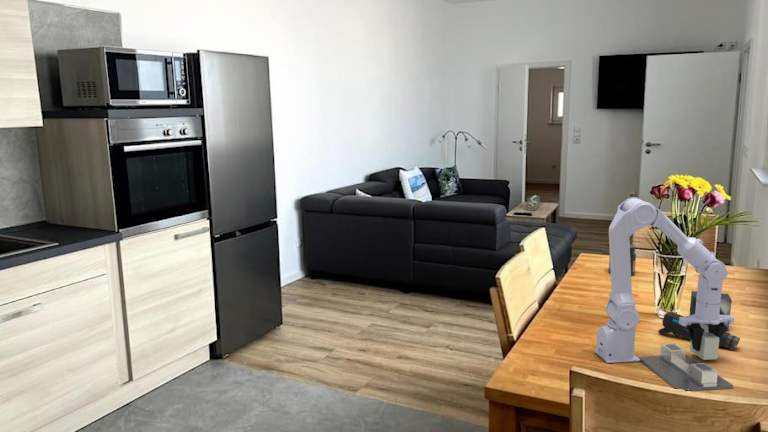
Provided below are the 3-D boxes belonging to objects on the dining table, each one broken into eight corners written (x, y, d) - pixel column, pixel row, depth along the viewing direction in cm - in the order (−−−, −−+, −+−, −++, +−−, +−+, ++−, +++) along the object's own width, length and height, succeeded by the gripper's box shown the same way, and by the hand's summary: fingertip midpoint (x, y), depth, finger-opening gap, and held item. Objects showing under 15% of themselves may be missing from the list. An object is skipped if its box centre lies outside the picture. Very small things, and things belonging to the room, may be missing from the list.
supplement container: (636, 272, 250) (638, 244, 248) (632, 278, 242) (634, 249, 240) (610, 269, 256) (612, 242, 254) (605, 275, 247) (607, 246, 245)
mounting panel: (678, 391, 143) (680, 373, 143) (637, 359, 162) (639, 343, 161) (733, 388, 145) (734, 370, 144) (686, 357, 163) (687, 341, 163)
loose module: (703, 359, 159) (705, 338, 158) (689, 351, 165) (691, 330, 164) (717, 359, 159) (719, 337, 158) (703, 350, 165) (705, 329, 164)
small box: (690, 328, 185) (693, 296, 183) (688, 321, 191) (690, 290, 190) (729, 332, 182) (732, 299, 180) (725, 325, 188) (728, 293, 186)
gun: (658, 329, 183) (672, 302, 180) (725, 365, 173) (741, 337, 169) (654, 333, 180) (668, 306, 176) (722, 370, 169) (738, 342, 166)
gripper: (691, 307, 155) (687, 356, 157) (743, 305, 156) (738, 353, 159) (676, 299, 162) (672, 346, 164) (725, 297, 163) (721, 343, 165)
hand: (703, 349), depth 162 cm, fingers closed on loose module, 4 cm apart
